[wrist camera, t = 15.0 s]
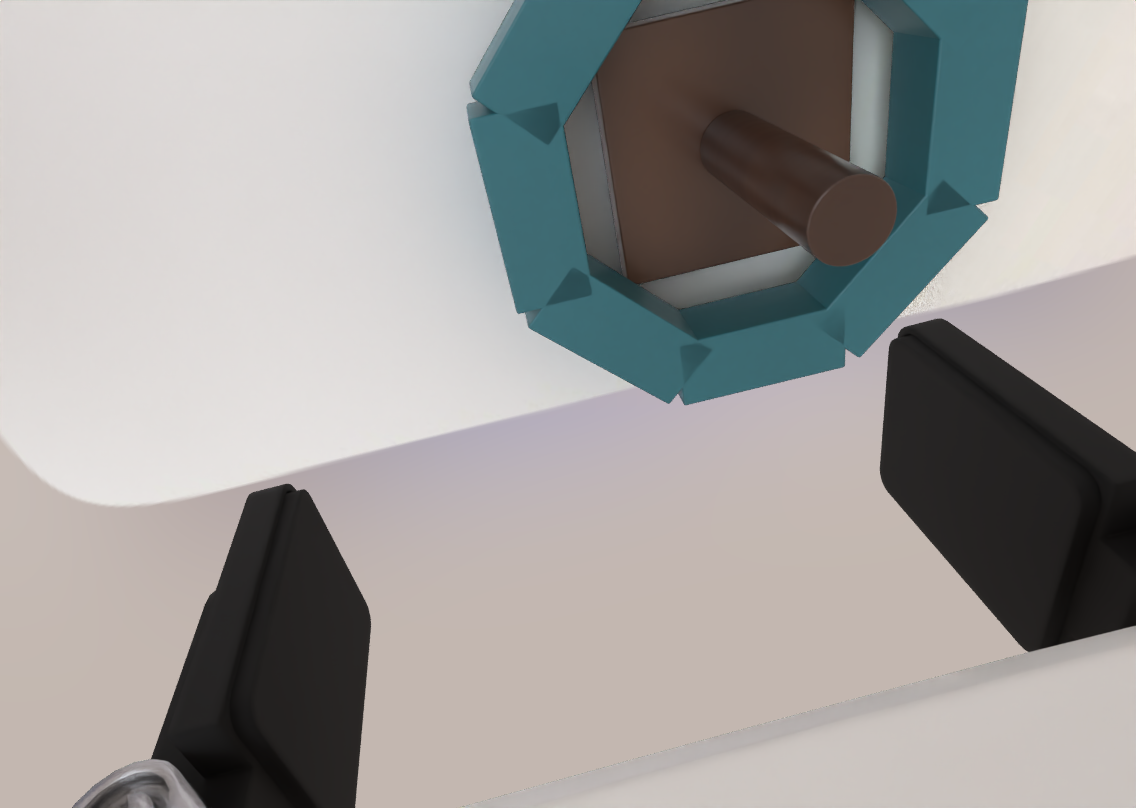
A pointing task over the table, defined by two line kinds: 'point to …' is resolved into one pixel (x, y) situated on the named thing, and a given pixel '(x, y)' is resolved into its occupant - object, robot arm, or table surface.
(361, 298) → the table surface
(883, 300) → the ring
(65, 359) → the table surface
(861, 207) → the holder
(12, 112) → the table surface
